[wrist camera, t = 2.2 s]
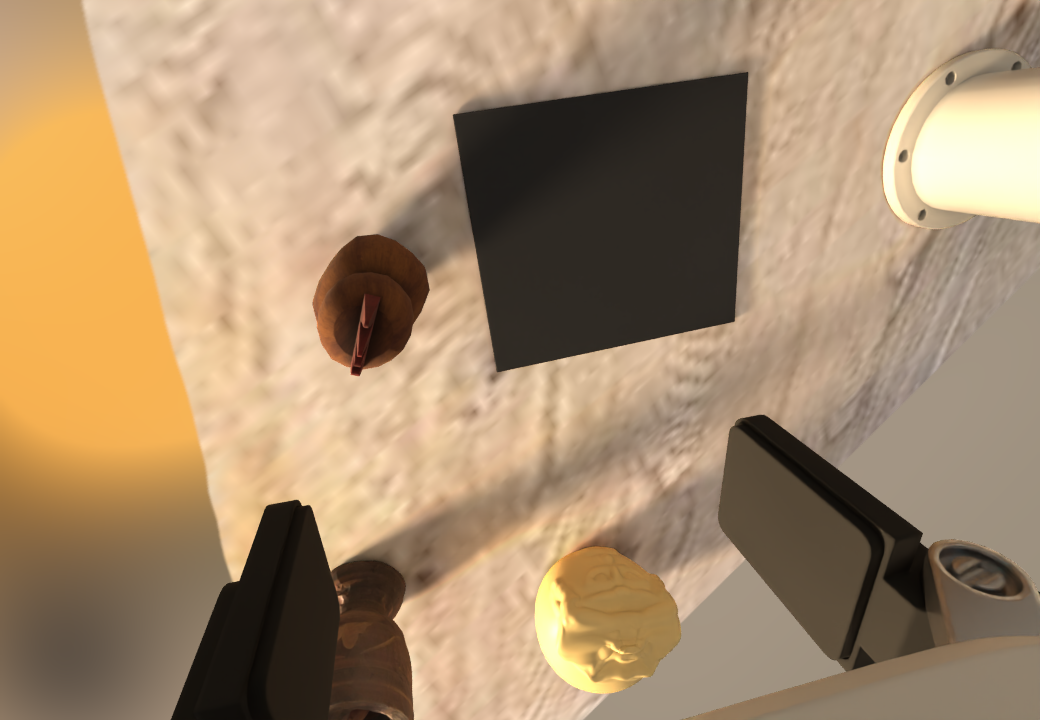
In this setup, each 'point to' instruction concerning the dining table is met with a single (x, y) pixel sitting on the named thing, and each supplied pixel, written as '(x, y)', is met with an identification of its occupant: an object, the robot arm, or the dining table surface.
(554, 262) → the mat
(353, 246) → the wooden figurine
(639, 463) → the dining table surface
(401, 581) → the mortar and pestle
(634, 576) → the sculpture
